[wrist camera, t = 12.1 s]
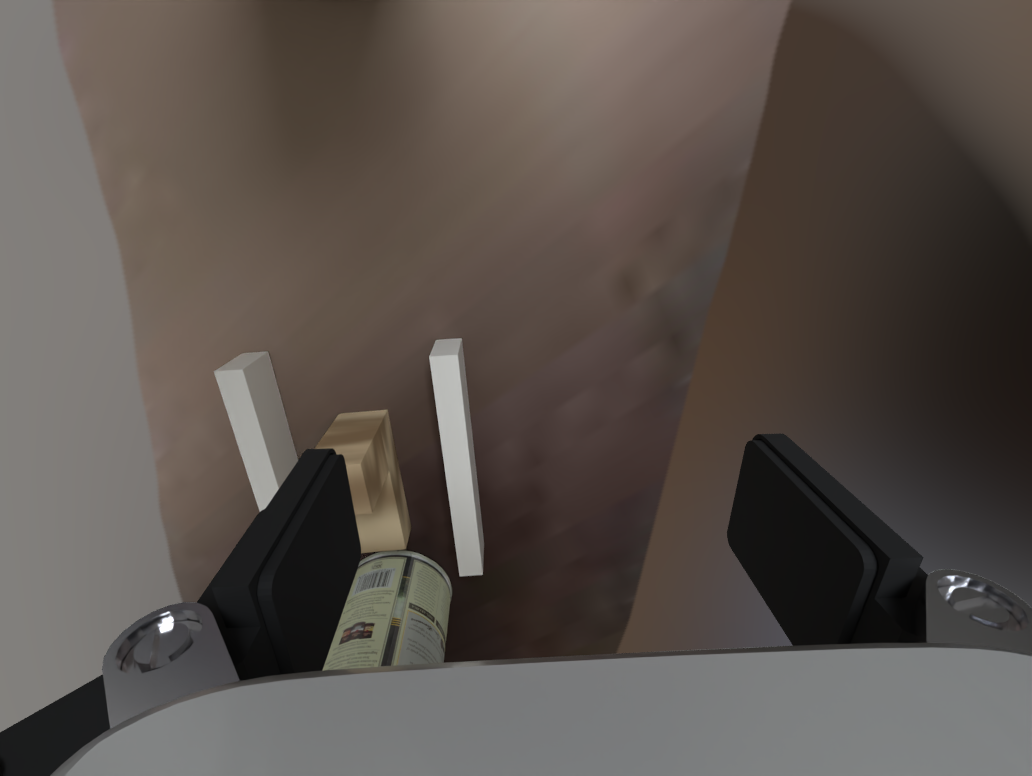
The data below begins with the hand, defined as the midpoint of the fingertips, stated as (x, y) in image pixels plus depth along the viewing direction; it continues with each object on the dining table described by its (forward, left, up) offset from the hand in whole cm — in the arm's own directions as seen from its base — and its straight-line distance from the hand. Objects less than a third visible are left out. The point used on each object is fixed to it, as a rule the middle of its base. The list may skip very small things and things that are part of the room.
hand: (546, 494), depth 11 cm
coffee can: (+29, -13, -27) cm, 41 cm away
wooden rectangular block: (+16, -13, -27) cm, 33 cm away
